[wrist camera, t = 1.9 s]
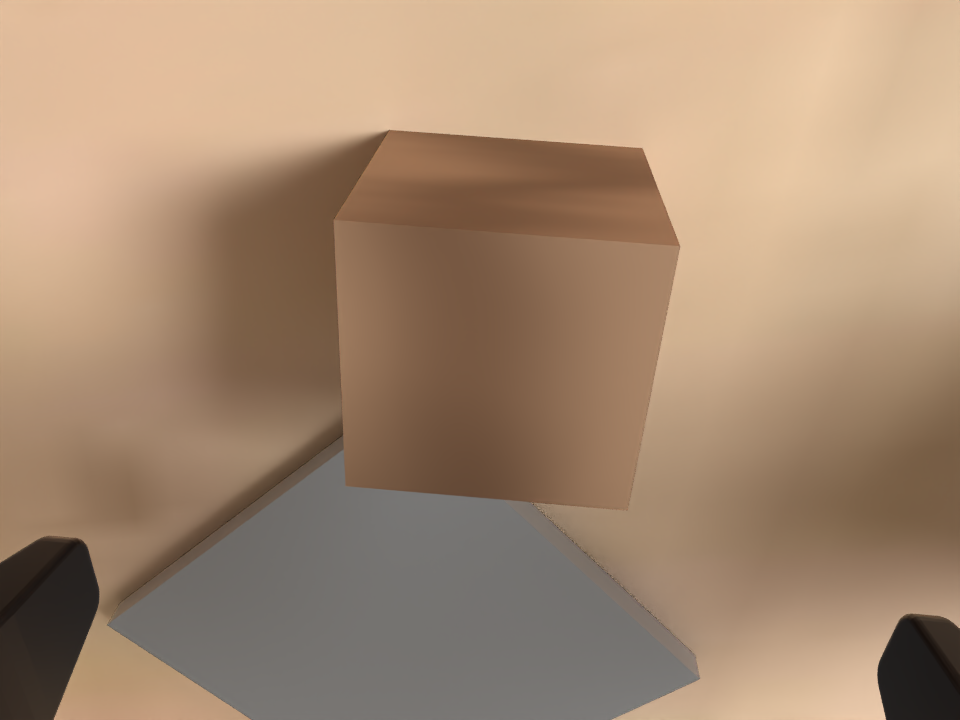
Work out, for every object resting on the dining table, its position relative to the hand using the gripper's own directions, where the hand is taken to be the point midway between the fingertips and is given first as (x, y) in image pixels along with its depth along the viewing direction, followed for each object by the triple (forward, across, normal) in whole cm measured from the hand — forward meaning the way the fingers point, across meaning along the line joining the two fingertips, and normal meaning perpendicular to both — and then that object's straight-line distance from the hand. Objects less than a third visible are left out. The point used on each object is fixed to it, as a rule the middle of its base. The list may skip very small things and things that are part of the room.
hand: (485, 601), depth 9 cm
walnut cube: (+10, 0, 0) cm, 10 cm away
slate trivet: (+9, +2, +12) cm, 15 cm away
